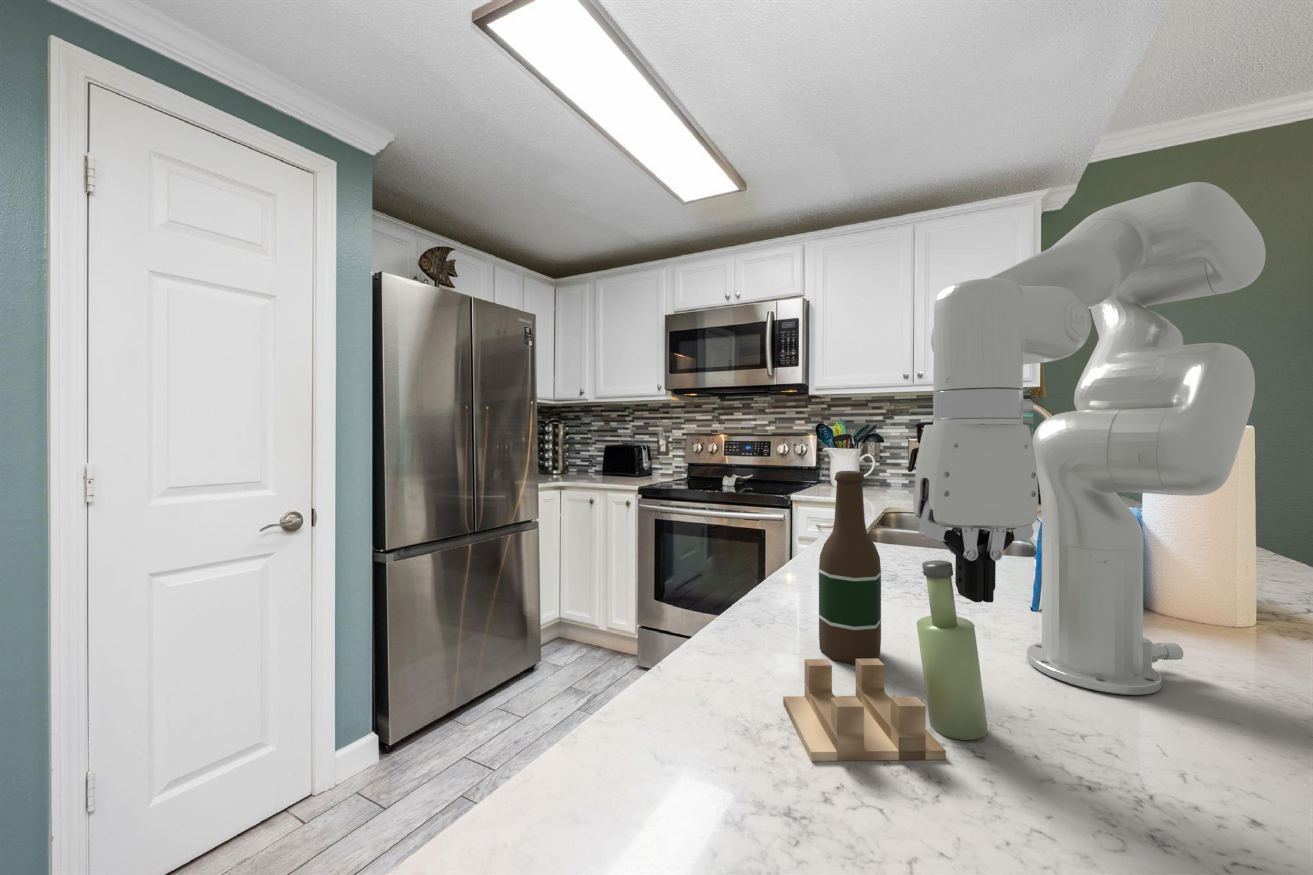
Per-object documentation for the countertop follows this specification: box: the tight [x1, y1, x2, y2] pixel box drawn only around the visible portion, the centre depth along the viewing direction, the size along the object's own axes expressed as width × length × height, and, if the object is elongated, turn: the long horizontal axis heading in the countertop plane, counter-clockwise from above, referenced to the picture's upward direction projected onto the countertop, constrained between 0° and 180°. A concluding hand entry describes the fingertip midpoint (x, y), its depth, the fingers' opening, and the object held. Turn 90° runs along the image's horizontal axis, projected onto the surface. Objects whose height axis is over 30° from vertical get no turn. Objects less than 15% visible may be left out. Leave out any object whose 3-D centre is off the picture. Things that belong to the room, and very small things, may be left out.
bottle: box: [916, 559, 989, 741], centre depth 52 cm, size 5×5×16 cm
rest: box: [782, 658, 947, 762], centre depth 52 cm, size 12×10×5 cm
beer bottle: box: [818, 470, 882, 666], centre depth 70 cm, size 8×8×24 cm
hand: (974, 597), depth 52 cm, fingers closed
